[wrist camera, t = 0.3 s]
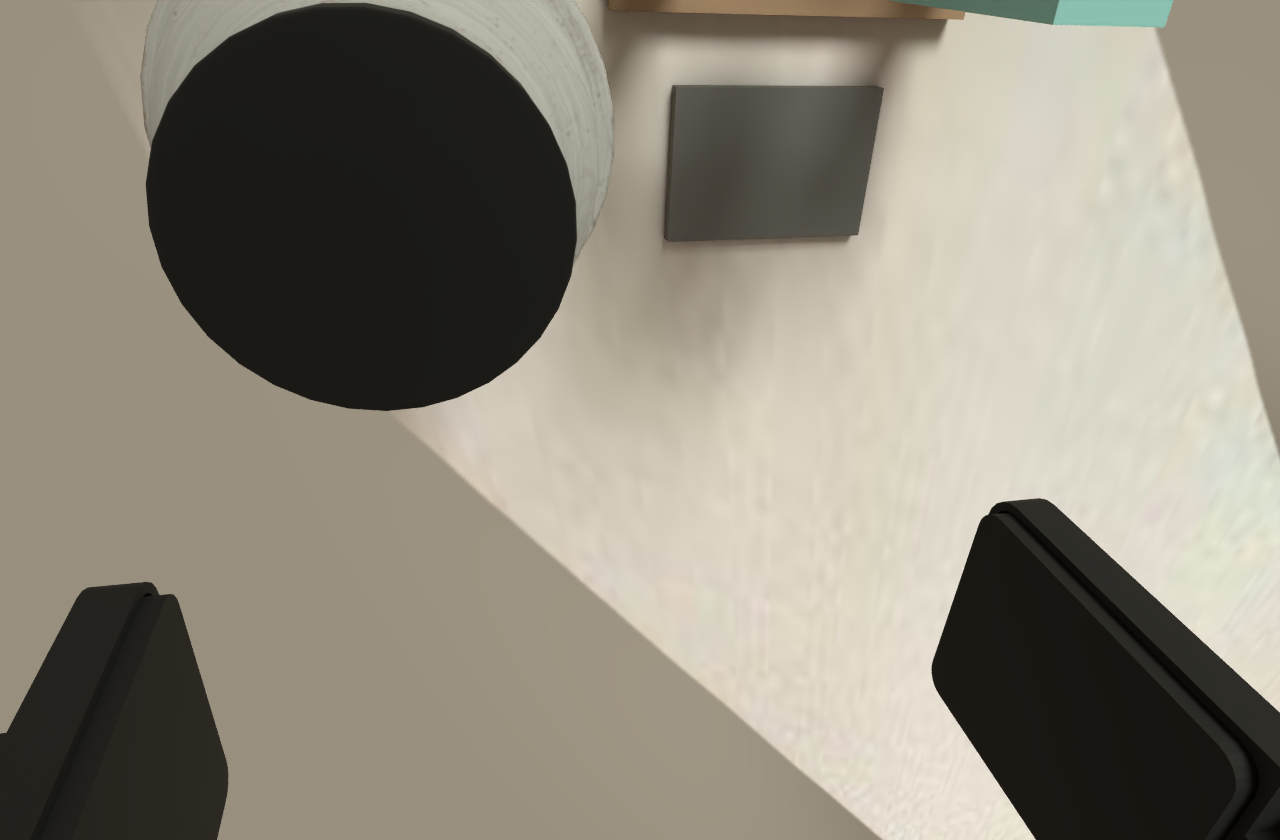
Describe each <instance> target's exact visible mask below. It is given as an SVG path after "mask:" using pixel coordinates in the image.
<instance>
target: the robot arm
mask: <svg viewBox="0 0 1280 840" xmlns="http://www.w3.org/2000/svg"><path fill="white" fill-rule="evenodd" d="M932 678H933V682H934V685H935V688H936V690H937V692H938V693H939V695H940V697H941V698H942V700H943V701H944V703H945V704H946V706H947V707H948V709H949V710H950V712H951V713H952V715H953V716H954V718H955V719H956V721H957V722H958V724H959V725H960V727H961V728H962V730H963V731H964V733H965V734H966V736H967V737H968V738H969V740H970V741H971V743H972V744H973V746H974V747H975V749H976V750H977V752H978V753H979V755H980V756H981V758H982V759H983V761H984V762H985V764H986V765H987V767H988V768H989V770H990V771H991V773H992V774H993V776H994V777H995V779H996V780H997V782H998V783H999V785H1000V786H1001V788H1002V789H1003V791H1004V792H1005V794H1006V795H1007V797H1008V798H1009V800H1010V801H1011V803H1012V804H1013V806H1014V807H1015V809H1016V810H1017V812H1018V813H1019V815H1020V816H1021V818H1022V819H1023V821H1024V822H1025V824H1026V825H1027V827H1028V828H1029V830H1030V831H1031V833H1032V834H1033V836H1034V837H1035V839H1036V840H1280V713H1279V712H1278V711H1277V710H1276V709H1275V708H1274V707H1273V706H1272V705H1271V704H1270V703H1269V702H1268V701H1266V700H1265V699H1264V698H1263V697H1262V696H1261V695H1260V694H1259V693H1258V692H1257V691H1256V690H1255V689H1253V688H1252V687H1251V686H1250V685H1249V684H1248V683H1247V682H1246V681H1245V680H1244V679H1243V678H1241V677H1240V676H1239V675H1238V674H1237V673H1236V672H1235V671H1234V670H1233V669H1232V668H1231V667H1230V666H1228V665H1227V664H1226V663H1225V662H1224V661H1223V660H1222V659H1221V658H1220V657H1219V656H1218V655H1217V654H1215V653H1214V652H1213V651H1212V650H1211V649H1210V648H1209V647H1208V646H1207V645H1206V644H1205V643H1203V642H1202V641H1201V640H1200V639H1199V638H1198V637H1197V636H1196V635H1195V634H1194V633H1193V632H1192V631H1190V630H1189V629H1188V628H1187V627H1186V626H1185V625H1184V624H1183V623H1182V622H1181V621H1180V620H1179V619H1177V618H1176V617H1175V616H1174V615H1173V614H1172V613H1171V612H1170V611H1169V610H1168V609H1167V608H1165V607H1164V606H1163V605H1162V604H1161V603H1160V602H1159V601H1158V600H1157V599H1156V598H1155V597H1154V596H1152V595H1151V594H1150V593H1149V592H1148V591H1147V590H1146V589H1145V588H1144V587H1143V586H1142V585H1141V584H1139V583H1138V582H1137V581H1136V580H1135V579H1134V578H1133V577H1132V576H1131V575H1130V574H1129V573H1128V572H1126V571H1125V570H1124V569H1123V568H1122V567H1121V566H1120V565H1119V564H1118V563H1117V562H1116V561H1114V560H1113V559H1112V558H1111V557H1110V556H1109V555H1108V554H1107V553H1106V552H1105V551H1104V550H1103V549H1101V548H1100V547H1099V546H1098V545H1097V544H1096V543H1095V542H1094V541H1093V540H1092V539H1091V538H1090V537H1088V536H1087V535H1086V534H1085V533H1084V532H1083V531H1082V530H1081V529H1080V528H1079V527H1078V526H1076V525H1075V524H1074V523H1073V522H1072V521H1071V520H1070V519H1069V518H1068V517H1067V516H1066V515H1065V514H1063V513H1062V512H1061V511H1060V510H1059V509H1058V508H1057V507H1056V506H1055V505H1054V504H1052V503H1051V502H1049V501H1048V500H1045V499H1040V498H1039V499H1028V500H1017V501H1006V502H1001V503H997V504H996V505H995V506H994V507H992V509H991V511H990V512H989V514H988V515H986V516H985V517H983V518H982V519H981V521H980V523H979V526H978V529H977V532H976V535H975V538H974V541H973V544H972V547H971V549H970V552H969V555H968V558H967V561H966V564H965V567H964V570H963V573H962V576H961V579H960V582H959V585H958V588H957V591H956V594H955V597H954V600H953V603H952V606H951V609H950V612H949V615H948V618H947V621H946V624H945V627H944V630H943V633H942V636H941V639H940V641H939V644H938V647H937V650H936V653H935V656H934V659H933V663H932ZM227 790H228V767H227V762H226V758H225V755H224V751H223V748H222V745H221V741H220V738H219V735H218V731H217V728H216V725H215V721H214V718H213V715H212V712H211V708H210V705H209V702H208V699H207V695H206V692H205V688H204V685H203V682H202V678H201V675H200V672H199V669H198V665H197V662H196V658H195V655H194V652H193V648H192V645H191V642H190V639H189V635H188V632H187V629H186V625H185V622H184V619H183V615H182V612H181V609H180V606H179V603H178V600H177V598H176V597H175V596H174V595H172V594H167V595H159V593H158V591H157V589H156V587H155V586H154V585H153V584H152V583H149V582H142V583H131V584H121V585H110V586H100V587H89V588H86V589H85V590H83V591H82V592H81V593H80V595H79V596H78V597H77V599H76V601H75V603H74V604H73V607H72V608H71V611H70V612H69V614H68V616H67V618H66V620H65V622H64V624H63V626H62V628H61V630H60V631H59V633H58V635H57V637H56V639H55V641H54V643H53V645H52V647H51V649H50V651H49V652H48V654H47V656H46V658H45V660H44V662H43V664H42V666H41V668H40V670H39V672H38V673H37V676H36V677H35V679H34V681H33V683H32V685H31V687H30V689H29V691H28V693H27V694H26V696H25V698H24V700H23V702H22V704H21V706H20V708H19V710H18V712H17V714H16V716H15V717H14V719H13V721H12V723H11V725H10V727H9V729H8V731H7V733H2V734H0V840H217V837H218V832H219V828H220V824H221V819H222V815H223V810H224V806H225V802H226V797H227Z"/></svg>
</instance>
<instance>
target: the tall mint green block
mask: <svg viewBox="0 0 1280 840" xmlns="http://www.w3.org/2000/svg"><path fill="white" fill-rule="evenodd" d="M889 1H895V2H902V3H909V4H916V5H922V6H929V7H936V8H943V9H950V10H956V11H963V12H970V13H977V14H984V15H990V16H997V17H1004V18H1011V19H1018V20H1024V21H1031V22H1038V23H1045V24H1052V25H1086V26H1128V27H1165V24H1166V21H1167V18H1168V15H1169V12H1170V9H1171V6H1172V3H1173V0H889Z"/></svg>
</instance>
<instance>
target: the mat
mask: <svg viewBox="0 0 1280 840" xmlns="http://www.w3.org/2000/svg"><path fill="white" fill-rule="evenodd" d="M883 90H884V88H881V87H878V86H723V85H673V94H672V112H671V131H670V149H669V168H668V187H667V205H666V224H665V239H666V240H667V241H668V242H676V241H705V240H734V239H762V238H791V237H819V236H848V235H858V232H859V226H860V220H861V215H862V209H863V203H864V198H865V192H866V186H867V180H868V175H869V169H870V163H871V158H872V152H873V146H874V141H875V135H876V129H877V124H878V118H879V112H880V107H881V101H882V95H883Z"/></svg>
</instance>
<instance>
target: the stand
mask: <svg viewBox="0 0 1280 840" xmlns="http://www.w3.org/2000/svg"><path fill="white" fill-rule="evenodd" d="M608 9H610V10H613V11H640V12H680V13H720V14H760V15H800V16H840V17H880V18H920V19H960V20H964V15H965V12H963V11H956V10H950V9H943V8H936V7H929V6H922V5H916V4H909V3H902V2H895V1H889V0H608Z"/></svg>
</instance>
